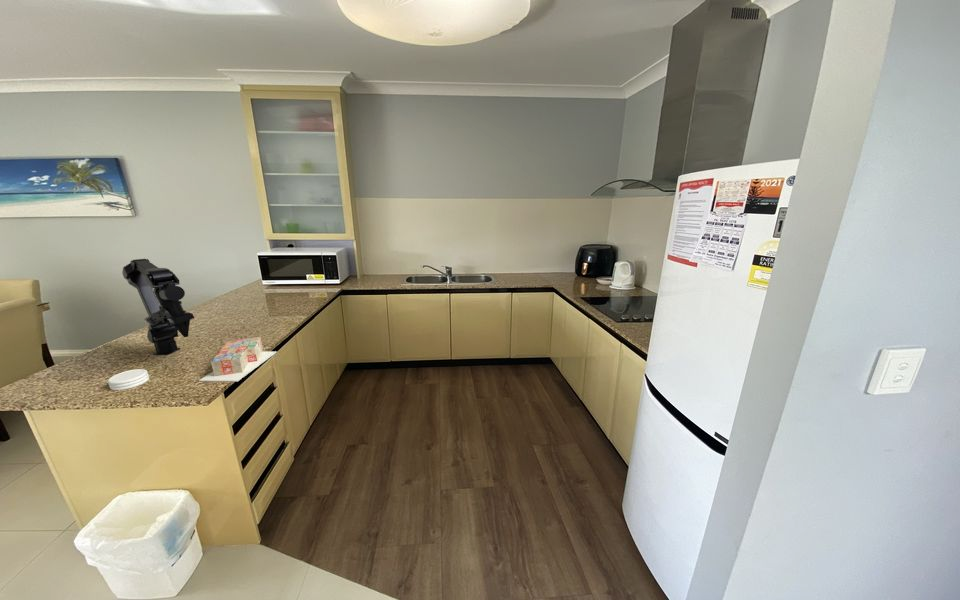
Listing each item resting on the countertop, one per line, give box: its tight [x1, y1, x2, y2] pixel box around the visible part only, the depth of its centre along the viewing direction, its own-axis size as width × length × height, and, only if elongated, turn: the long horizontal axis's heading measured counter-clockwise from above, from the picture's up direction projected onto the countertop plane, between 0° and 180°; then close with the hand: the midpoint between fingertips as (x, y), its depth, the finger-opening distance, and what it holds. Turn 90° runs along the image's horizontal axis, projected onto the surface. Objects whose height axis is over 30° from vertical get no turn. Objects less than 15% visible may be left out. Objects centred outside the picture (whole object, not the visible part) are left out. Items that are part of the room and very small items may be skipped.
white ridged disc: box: [107, 368, 150, 391], centre depth 117 cm, size 10×10×4 cm
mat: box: [198, 350, 277, 383], centre depth 132 cm, size 14×25×1 cm, turn 1°
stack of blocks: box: [210, 336, 264, 376], centre depth 133 cm, size 21×6×12 cm
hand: (186, 337), depth 131 cm, fingers closed
